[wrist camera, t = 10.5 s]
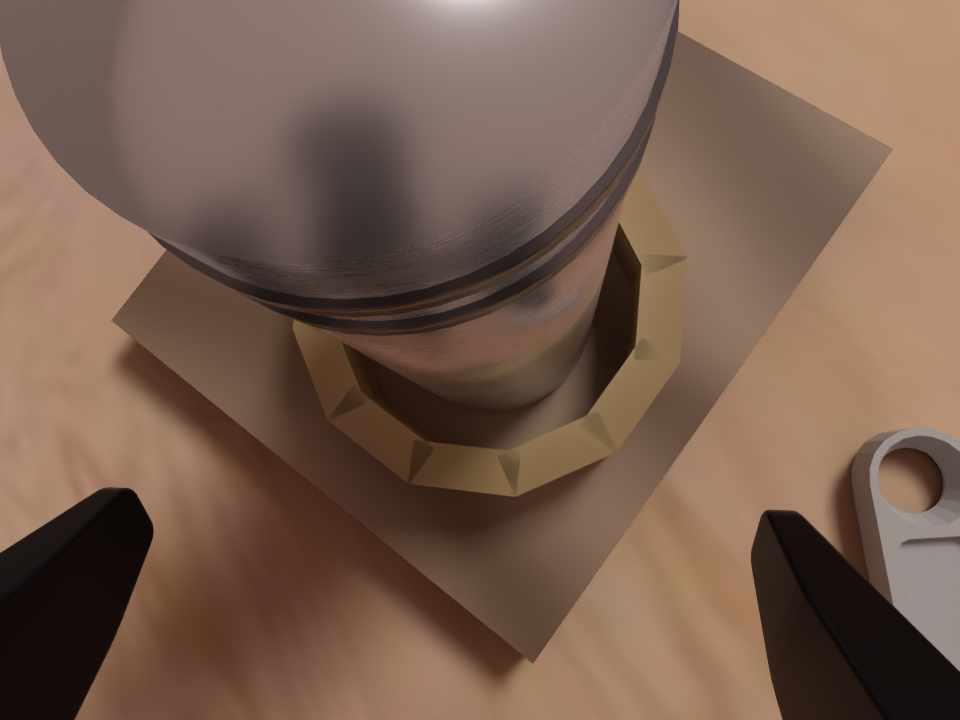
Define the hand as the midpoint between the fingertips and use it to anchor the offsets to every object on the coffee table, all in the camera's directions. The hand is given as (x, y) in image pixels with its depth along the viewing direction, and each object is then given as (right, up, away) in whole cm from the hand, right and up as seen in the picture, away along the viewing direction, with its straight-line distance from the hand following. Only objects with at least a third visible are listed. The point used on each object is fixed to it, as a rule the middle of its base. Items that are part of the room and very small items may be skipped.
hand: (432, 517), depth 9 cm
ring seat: (+1, +5, +10) cm, 11 cm away
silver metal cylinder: (+1, +3, +8) cm, 9 cm away
